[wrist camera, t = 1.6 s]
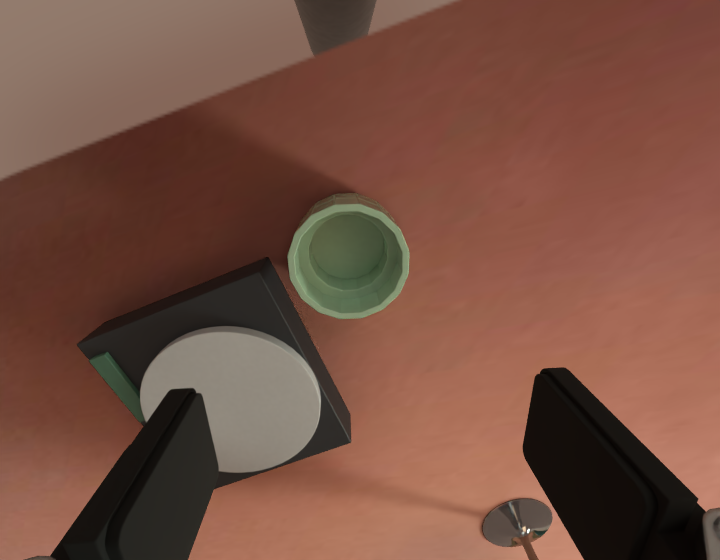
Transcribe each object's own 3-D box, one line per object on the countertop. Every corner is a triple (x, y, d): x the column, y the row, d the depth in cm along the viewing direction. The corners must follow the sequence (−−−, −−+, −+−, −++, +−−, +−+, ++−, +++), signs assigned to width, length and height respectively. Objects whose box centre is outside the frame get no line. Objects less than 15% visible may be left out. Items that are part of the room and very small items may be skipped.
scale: (104, 322, 25) (66, 351, 22) (268, 256, 24) (256, 276, 21) (212, 462, 31) (195, 504, 27) (350, 414, 30) (352, 451, 26)
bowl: (292, 193, 23) (281, 206, 19) (397, 190, 23) (410, 201, 19) (301, 290, 25) (294, 321, 21) (396, 286, 26) (407, 316, 21)
